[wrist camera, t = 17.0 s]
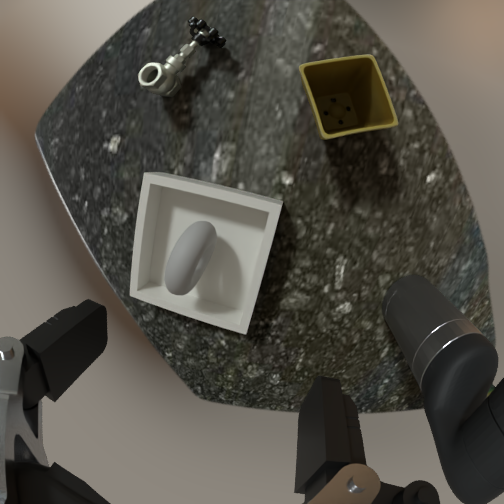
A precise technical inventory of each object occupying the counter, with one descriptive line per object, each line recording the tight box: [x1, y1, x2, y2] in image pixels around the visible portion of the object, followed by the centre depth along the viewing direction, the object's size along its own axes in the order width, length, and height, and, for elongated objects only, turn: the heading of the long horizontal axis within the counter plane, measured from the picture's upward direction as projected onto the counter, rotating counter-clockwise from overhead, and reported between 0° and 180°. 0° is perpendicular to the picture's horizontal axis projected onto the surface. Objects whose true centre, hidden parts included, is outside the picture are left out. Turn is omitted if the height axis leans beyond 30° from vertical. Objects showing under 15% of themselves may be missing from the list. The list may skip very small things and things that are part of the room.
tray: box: [130, 172, 283, 334], centre depth 38 cm, size 18×18×5 cm
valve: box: [138, 17, 226, 97], centre depth 30 cm, size 7×7×12 cm
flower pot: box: [299, 55, 398, 140], centre depth 28 cm, size 9×9×9 cm
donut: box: [164, 221, 217, 295], centre depth 34 cm, size 10×3×10 cm, turn 155°
